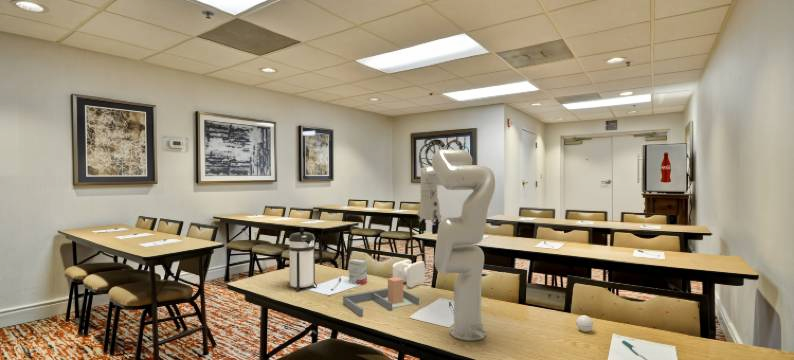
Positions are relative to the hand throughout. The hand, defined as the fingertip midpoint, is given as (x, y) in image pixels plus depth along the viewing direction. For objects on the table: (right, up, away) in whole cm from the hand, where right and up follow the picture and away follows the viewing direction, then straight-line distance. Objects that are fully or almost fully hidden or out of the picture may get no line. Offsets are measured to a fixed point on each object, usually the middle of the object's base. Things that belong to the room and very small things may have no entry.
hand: (429, 232), depth 175 cm
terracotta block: (-15, -30, -4) cm, 34 cm away
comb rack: (-21, -31, -7) cm, 38 cm away
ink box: (-35, -30, +27) cm, 53 cm away
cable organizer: (-9, -30, +23) cm, 39 cm away
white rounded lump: (+53, -31, -36) cm, 71 cm away
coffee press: (-63, -30, +19) cm, 73 cm away
